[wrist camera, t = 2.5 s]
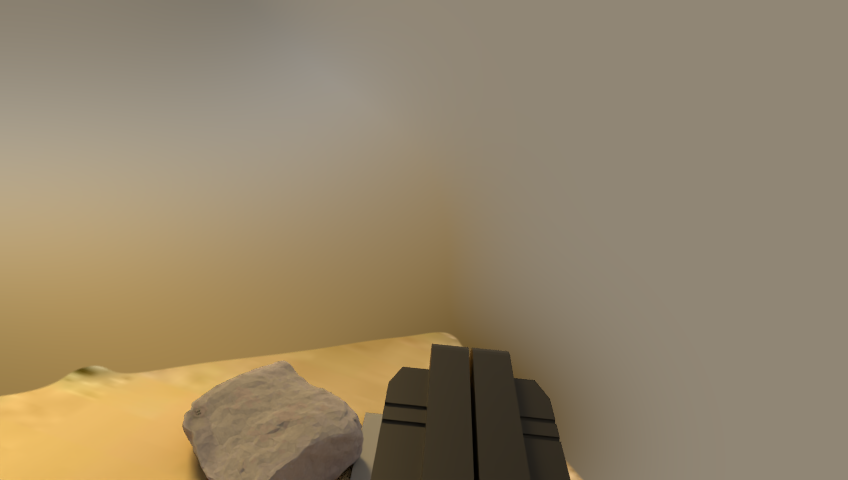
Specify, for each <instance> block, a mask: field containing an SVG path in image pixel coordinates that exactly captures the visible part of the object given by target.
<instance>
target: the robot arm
mask: <svg viewBox="0 0 848 480" xmlns="http://www.w3.org/2000/svg"><path fill="white" fill-rule="evenodd" d="M468 349H469V348H468V347H459V346H449V345H439V344H432V348H431V357H430V366H429V370H428V369H419V368H409V367H402V368H401V369H400V370H399V372H398V373H397V374H396V375H395V376H394V377H393V378H392V379H391V380H390V382H389V384H388V389H387V394H386V400H385V406H384V410H383V416H382V422H381V426H380V432H379V437H378V442H377V448H376V453H375V458H374V463H373V469H372V474H371V479H370V480H570V476H569V473H568V469H567V465H566V461H565V457H564V453H563V449H562V445H561V442H559V433H558V429H557V425H556V424H555V417H554V413H553V409H552V405H551V402H550V399H549V397H548V396H547V395H546V394H545V392H544V391H543V390H542V389H541V388H540V386H539V385H538V384H537V383H536V382H535V380H527V379H517V378H514V377H513V371H512V365H511V359H510V354H509V352H507V351H499V350H488V349H479V348H471V351H470V357H469V350H468Z"/></svg>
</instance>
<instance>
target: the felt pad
mask: <svg viewBox="0 0 848 480" xmlns="http://www.w3.org/2000/svg"><path fill="white" fill-rule="evenodd" d="M382 416H383V414H375V413H366V414H365V418H364V422H363V426H362V433H363V438H364V440H363V445H362V449H363V450H362V453H361V456H360V458H359V459H358V460H357V461H356V462H355V463H354V465H353V469H352V474H351V478H350V480H370V479H371V474H372V469H373V463H374V458H375V453H376V448H377V442H378V437H379V432H380V426H381V422H382Z"/></svg>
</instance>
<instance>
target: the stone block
mask: <svg viewBox="0 0 848 480" xmlns="http://www.w3.org/2000/svg"><path fill="white" fill-rule="evenodd" d="M361 428H362V425H361V424H360V422H359V418H358V416H357V414H356V413H355V412H354V411H353V410H352V409H351V408H350V407H349V406H348V404H347V403H346V402H345V401H343V400H342V399H340V398H339V397H337V396H335V395H334V394H332V393H331V392H328V391H327V390H325V389H323V388H318V387H315V386H313V385H311V384H309V383H308V382H306V381H305V379H304V378H302V377H301V376H299V375H298V374H297V372H296V371H295V370H294V368H293V367H292V366H291V365H290V364H289V363H288V362H286V361H278V362H275V363H273V364H271V365H267V366H262V367H260V368H256V369H253V370H251V371H249V372H247V373H243V374H241V375H238V376H236V377H234V378H232V379H229V380H227V381H226V382H223V383H221V384H219V385H216V386H215V387H214V388H212V389H211V390H210V391H208V392H207V393H205V394H204V395H202V396H201V397H200V398H198V399H197V400H195V401H194V402H193V403H192V408H191V410H189V411H188V412H186V413H185V415H184V421H183V430H184V432H185V434H186V436H187V438H188V440H189V441H190V443H191V445H192V446H193V451H194V453H195V454H196V456H197V457H198V461H199V463H200V467H201V468H202V470H203V471H204V473H205V475H206V477H207V479H208V480H335V479H337V478H338V477H339V476H340V475H341V474H342V473H343V472H344V471H345V470H346V469H347V468H348V467H349V466H351V465H352V464H354V463H355V462H356V461H357V460H358V459H359V458H360V456H361V453H362V450H363V449H362V445H363V440H364V438H363V433H362V430H361Z"/></svg>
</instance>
